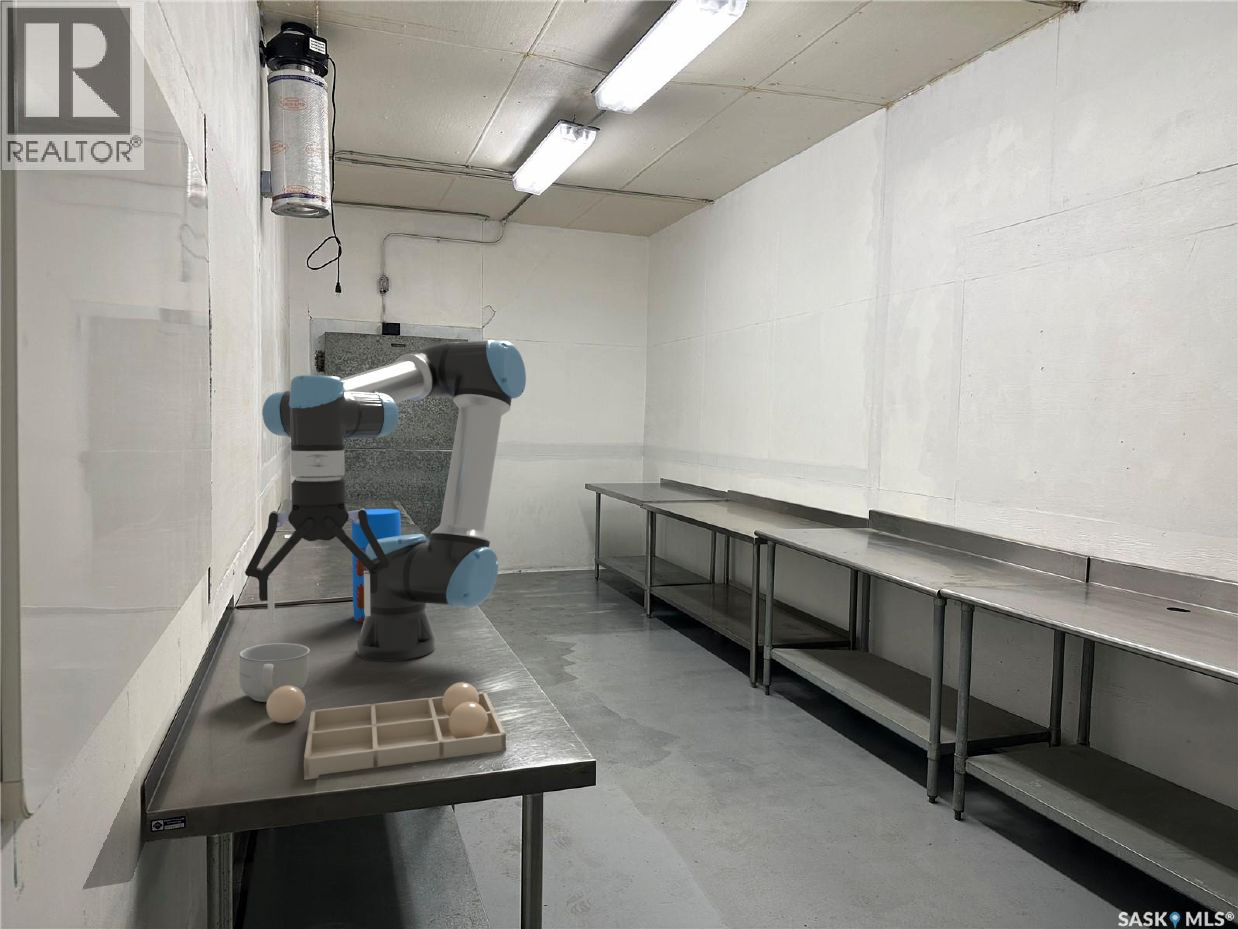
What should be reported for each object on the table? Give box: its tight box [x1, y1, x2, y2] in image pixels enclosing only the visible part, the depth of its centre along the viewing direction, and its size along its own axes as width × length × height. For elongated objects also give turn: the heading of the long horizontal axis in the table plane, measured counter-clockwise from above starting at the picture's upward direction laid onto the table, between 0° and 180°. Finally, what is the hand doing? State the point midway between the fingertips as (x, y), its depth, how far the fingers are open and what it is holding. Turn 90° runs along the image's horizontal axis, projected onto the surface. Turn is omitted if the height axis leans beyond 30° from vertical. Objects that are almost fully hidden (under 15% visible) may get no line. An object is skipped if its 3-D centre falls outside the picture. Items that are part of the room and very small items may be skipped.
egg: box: [265, 685, 306, 724], centre depth 120 cm, size 6×6×6 cm
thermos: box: [351, 508, 402, 623], centre depth 181 cm, size 11×11×25 cm
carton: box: [303, 691, 507, 781], centre depth 113 cm, size 18×26×3 cm
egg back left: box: [442, 681, 479, 716], centre depth 120 cm, size 6×6×6 cm
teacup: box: [238, 642, 311, 703], centre depth 129 cm, size 14×11×8 cm
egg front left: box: [449, 702, 488, 739], centre depth 112 cm, size 6×6×6 cm
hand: (320, 618), depth 118 cm, fingers open, 13 cm apart
